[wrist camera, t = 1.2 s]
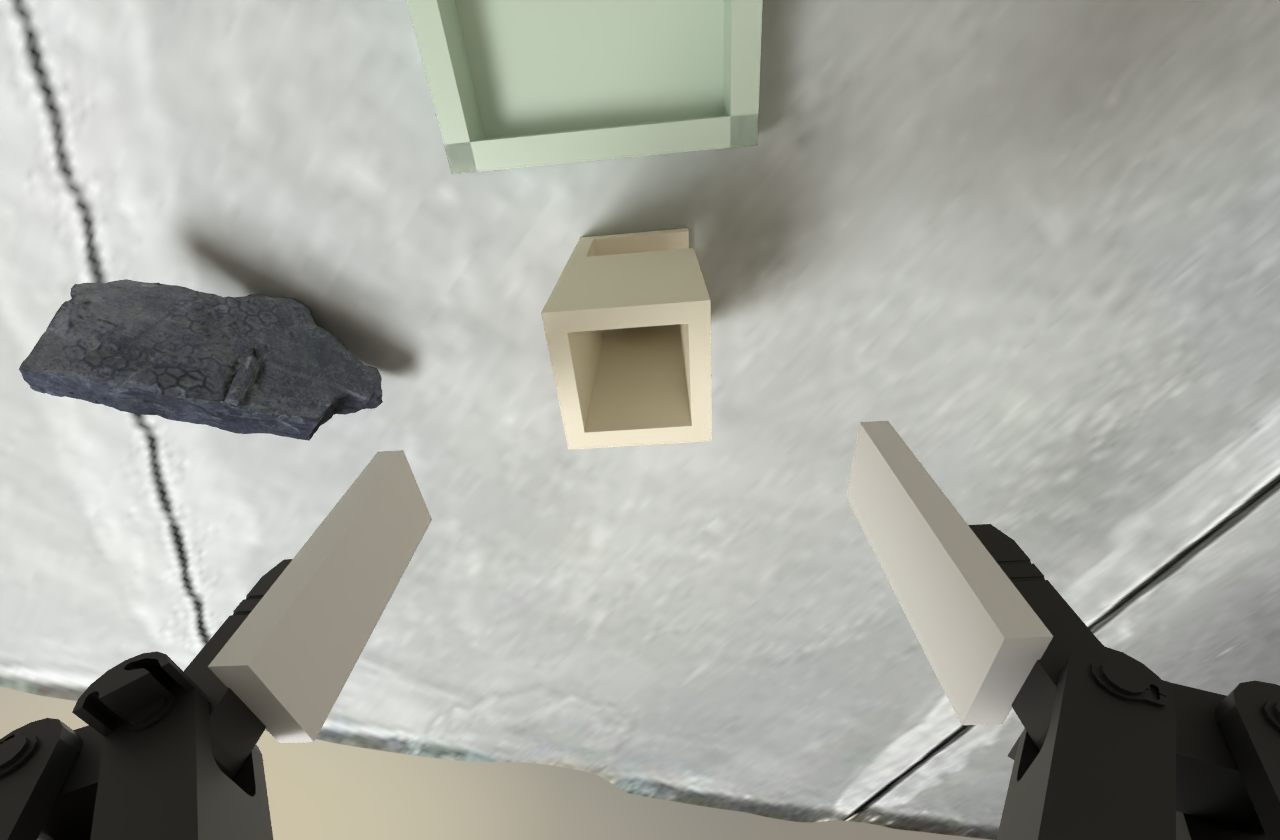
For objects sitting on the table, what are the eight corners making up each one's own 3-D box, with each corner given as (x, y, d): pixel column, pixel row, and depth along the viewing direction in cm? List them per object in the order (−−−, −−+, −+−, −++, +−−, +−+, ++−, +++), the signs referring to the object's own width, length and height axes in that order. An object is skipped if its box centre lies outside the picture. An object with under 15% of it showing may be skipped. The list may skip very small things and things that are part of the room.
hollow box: (580, 237, 28) (541, 312, 18) (687, 227, 27) (710, 300, 17) (594, 337, 31) (568, 449, 21) (690, 329, 31) (711, 440, 20)
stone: (402, 312, 30) (307, 394, 22) (403, 395, 33) (320, 494, 25) (155, 253, 28) (-52, 316, 20) (180, 346, 32) (11, 435, 23)
